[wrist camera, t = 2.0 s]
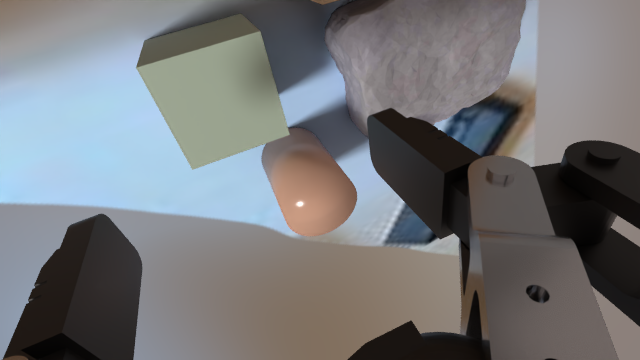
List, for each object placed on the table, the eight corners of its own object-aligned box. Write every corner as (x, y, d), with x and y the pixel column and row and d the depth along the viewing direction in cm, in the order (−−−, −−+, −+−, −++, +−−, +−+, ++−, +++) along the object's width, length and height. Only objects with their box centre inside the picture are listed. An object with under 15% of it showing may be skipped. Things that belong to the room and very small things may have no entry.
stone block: (467, 68, 27) (491, -77, 19) (510, 99, 24) (559, -58, 16) (339, 128, 26) (309, 1, 18) (367, 167, 23) (345, 36, 15)
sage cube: (144, 40, 16) (136, 67, 12) (240, 13, 17) (260, 31, 13) (188, 126, 19) (192, 169, 15) (267, 99, 20) (289, 134, 16)
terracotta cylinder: (253, 140, 21) (275, 192, 17) (314, 118, 22) (352, 162, 17) (271, 189, 24) (295, 246, 19) (325, 169, 25) (360, 218, 20)
